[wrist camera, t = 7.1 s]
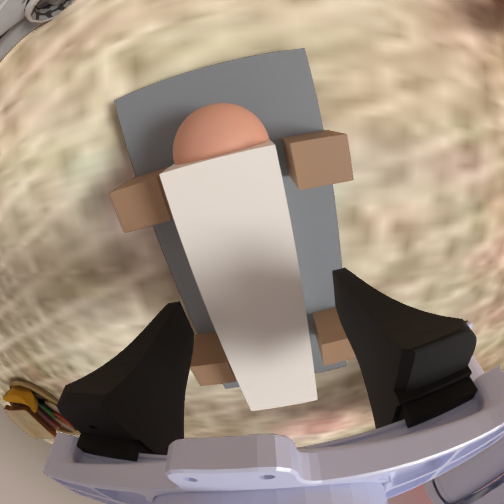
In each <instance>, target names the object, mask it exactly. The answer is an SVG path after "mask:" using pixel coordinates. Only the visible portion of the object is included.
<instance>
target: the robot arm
mask: <svg viewBox="0 0 504 504" xmlns="http://www.w3.org/2000/svg"><path fill="white" fill-rule="evenodd" d="M332 274H333V285H334V296H335V307H336V310H337V313H338V316H339V319H340V322H341V325H342V327H343V329H344V332H345V334H346V336H347V338H348V340H349V342H350V345H351V347H352V349H353V351H354V353H355V356H356V358H357V360H358V363H359V365H360V368H361V372H362V375H363V378H364V382H365V385H366V389H367V392H368V396H369V400H370V404H371V408H372V412H373V417H374V421H375V426H376V429H374V430H371V431H367V432H364V433H360V434H357V435H353V436H349V437H345V438H341V439H337V440H333V441H329V442H324V443H319V444H314V445H309V446H304V447H298V448H296V445H295V443H294V442H293V441H292V440H291V439H290V438H288V437H286V436H282V435H278V434H251V435H240V436H228V437H210V438H185V439H184V401H185V391H186V385H187V380H188V375H189V370H190V365H191V359H192V354H193V345H194V332H193V330H192V328H191V326H190V323H189V321H188V319H187V317H186V315H185V312H184V310H183V308H182V306H181V304H180V302H174V303H168V304H167V305H166V306H165V307H164V308H163V309H162V310H161V311H160V312H159V313H158V315H157V316H156V317H155V318H154V319H153V320H152V321H151V322H150V323H149V325H148V326H147V327H146V328H145V329H144V330H143V331H142V332H141V333H140V334H139V335H138V336H137V337H136V338H135V339H134V340H133V341H132V342H131V343H130V344H129V345H128V346H127V347H126V348H125V349H124V350H123V351H121V352H120V353H119V354H118V355H117V356H115V357H114V358H113V359H111V360H110V361H109V362H107V363H106V364H104V365H103V366H102V367H100V368H98V369H97V370H95V371H94V372H92V373H90V374H88V375H87V376H85V377H83V378H81V379H79V380H77V381H74V382H72V383H70V384H68V385H66V386H65V388H64V390H63V392H62V394H61V397H60V399H59V401H58V403H57V408H58V411H59V412H60V414H61V415H62V416H63V417H64V418H65V419H66V420H67V421H68V422H69V423H70V424H71V425H72V426H73V427H74V428H75V429H77V430H78V431H79V432H80V433H81V434H80V437H79V438H77V437H75V436H73V435H69V434H64V433H60V432H58V433H57V434H56V437H55V439H54V442H53V445H52V447H51V450H50V453H49V456H48V458H47V461H46V464H45V467H44V470H43V472H44V474H46V475H47V476H49V477H50V478H52V479H53V480H55V481H57V482H58V483H60V484H61V485H63V486H65V487H66V488H68V489H70V490H72V491H73V492H75V493H77V494H79V495H82V496H85V497H88V498H91V499H94V500H97V501H100V502H103V503H107V504H388V502H387V499H388V498H391V497H394V496H396V495H399V494H401V493H403V492H406V491H408V490H410V489H413V488H415V487H417V486H419V485H421V484H424V486H425V490H426V492H427V494H428V496H429V498H430V499H431V501H432V502H433V503H434V504H504V475H503V476H501V477H500V478H498V477H499V476H500V475H502V474H503V473H504V372H503V370H502V369H501V368H500V366H496V367H494V368H492V369H491V370H489V371H487V372H485V373H484V371H483V370H482V368H481V367H480V365H479V364H478V362H477V361H476V359H475V358H474V356H473V352H474V350H475V346H476V336H475V334H474V333H473V331H472V330H471V329H472V326H473V324H472V323H471V322H467V323H465V321H464V320H463V319H459V318H452V317H445V316H440V315H436V314H432V313H428V312H424V311H421V310H418V309H415V308H413V307H410V306H407V305H405V304H403V303H400V302H398V301H396V300H394V299H392V298H390V297H388V296H386V295H385V294H383V293H381V292H379V291H378V290H376V289H374V288H373V287H371V286H370V285H368V284H367V283H365V282H364V281H363V280H361V279H360V278H358V277H357V276H356V275H354V274H353V273H352V272H350V271H349V270H347V269H346V268H341V269H337V270H333V271H332ZM496 478H498V479H497V480H496V481H494V482H492V481H493V480H495V479H496ZM490 482H492V483H491V484H489V483H490ZM487 484H489V485H488V486H486V485H487ZM484 486H486V487H485V488H483V487H484ZM481 488H483V489H482V490H480V489H481ZM478 490H480V491H478ZM476 491H478V492H476ZM475 492H476V493H475ZM473 493H474V494H473Z"/></svg>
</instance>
